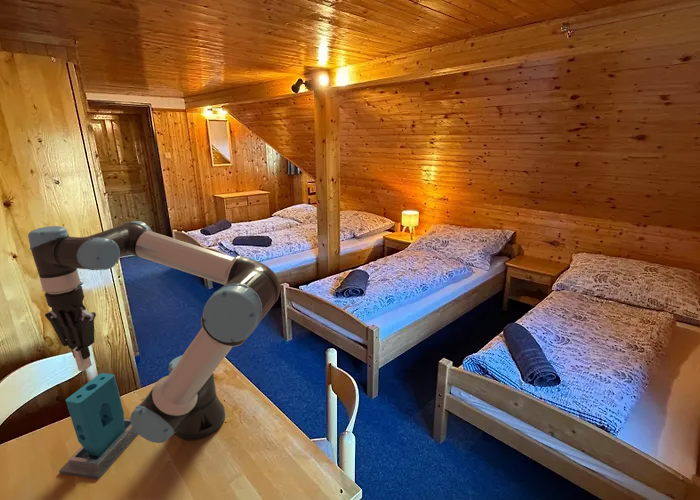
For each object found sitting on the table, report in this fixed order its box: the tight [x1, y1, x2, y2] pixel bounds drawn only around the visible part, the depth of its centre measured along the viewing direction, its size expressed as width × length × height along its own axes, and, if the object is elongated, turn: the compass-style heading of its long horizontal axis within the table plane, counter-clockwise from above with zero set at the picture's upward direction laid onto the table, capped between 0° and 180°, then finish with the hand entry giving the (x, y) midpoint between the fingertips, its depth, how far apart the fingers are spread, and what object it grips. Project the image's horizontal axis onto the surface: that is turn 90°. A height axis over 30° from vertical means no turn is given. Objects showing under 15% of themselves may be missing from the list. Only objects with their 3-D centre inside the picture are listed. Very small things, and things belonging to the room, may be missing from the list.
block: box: [65, 372, 125, 457], centre depth 106 cm, size 12×5×20 cm, turn 168°
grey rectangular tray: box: [58, 417, 140, 480], centre depth 109 cm, size 12×20×3 cm, turn 171°
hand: (85, 367), depth 100 cm, fingers closed
